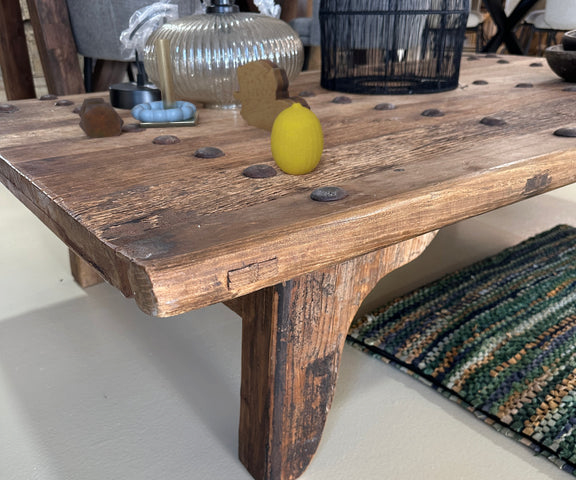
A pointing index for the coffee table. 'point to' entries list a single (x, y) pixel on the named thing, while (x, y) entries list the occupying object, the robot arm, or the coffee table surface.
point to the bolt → (99, 119)
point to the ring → (163, 112)
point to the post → (168, 88)
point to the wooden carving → (264, 93)
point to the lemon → (297, 140)
